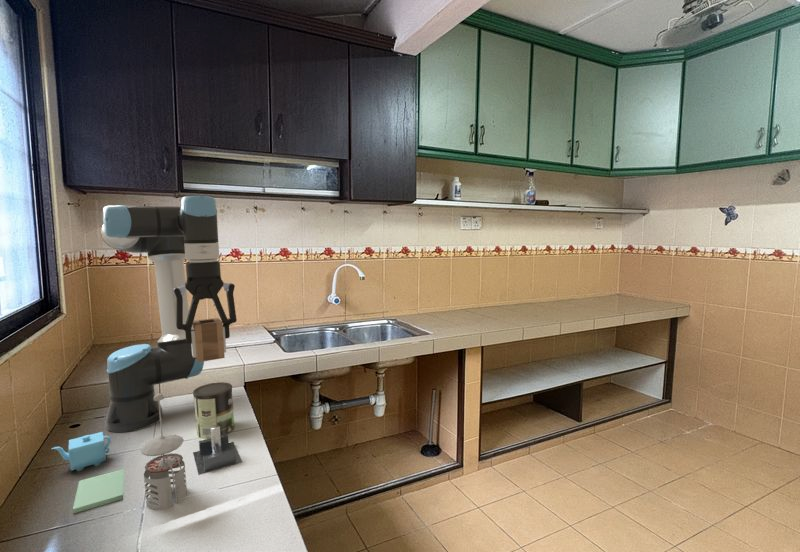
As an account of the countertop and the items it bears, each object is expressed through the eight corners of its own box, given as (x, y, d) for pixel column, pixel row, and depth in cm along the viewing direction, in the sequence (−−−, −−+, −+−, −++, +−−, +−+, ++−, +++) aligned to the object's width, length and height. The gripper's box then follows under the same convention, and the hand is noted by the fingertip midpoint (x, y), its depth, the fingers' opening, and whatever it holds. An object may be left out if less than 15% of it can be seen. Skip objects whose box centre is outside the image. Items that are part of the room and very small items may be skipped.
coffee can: (233, 423, 128) (230, 379, 127) (236, 438, 119) (233, 391, 117) (196, 431, 124) (193, 385, 122) (196, 447, 115) (192, 398, 113)
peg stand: (193, 457, 109) (190, 423, 108) (233, 446, 115) (231, 413, 114) (199, 480, 99) (196, 443, 98) (242, 467, 105) (240, 431, 103)
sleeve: (194, 356, 105) (192, 320, 104) (220, 352, 108) (218, 317, 107) (197, 362, 100) (195, 325, 99) (224, 357, 103) (222, 322, 102)
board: (79, 484, 98) (79, 480, 98) (130, 471, 104) (129, 467, 104) (73, 513, 88) (72, 509, 88) (129, 497, 94) (128, 492, 93)
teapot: (53, 479, 101) (50, 450, 100) (54, 468, 106) (51, 440, 105) (113, 462, 108) (110, 434, 107) (111, 452, 113) (109, 425, 112)
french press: (181, 484, 98) (172, 382, 95) (204, 504, 91) (196, 394, 88) (134, 506, 90) (123, 395, 88) (155, 530, 83) (144, 410, 80)
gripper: (158, 264, 93) (166, 364, 95) (247, 259, 103) (252, 350, 106) (157, 262, 99) (164, 356, 102) (240, 258, 109) (245, 344, 112)
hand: (209, 353), depth 104 cm, fingers closed on sleeve, 6 cm apart
